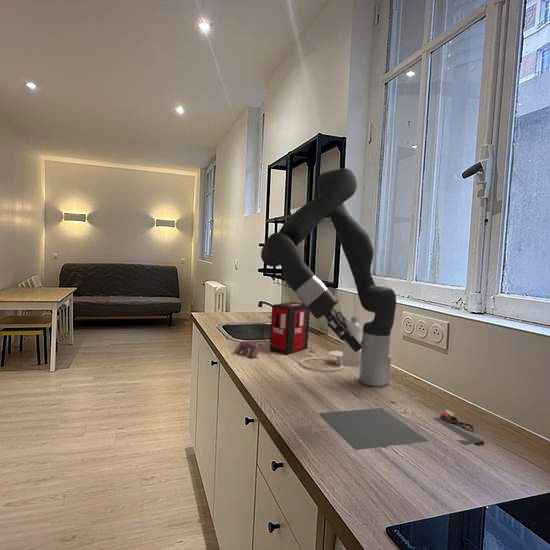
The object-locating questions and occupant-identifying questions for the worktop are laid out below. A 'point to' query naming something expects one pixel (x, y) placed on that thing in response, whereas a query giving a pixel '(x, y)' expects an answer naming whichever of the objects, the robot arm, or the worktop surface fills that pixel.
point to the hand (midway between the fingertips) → (359, 347)
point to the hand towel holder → (332, 353)
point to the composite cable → (452, 419)
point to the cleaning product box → (289, 328)
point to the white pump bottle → (349, 354)
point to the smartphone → (461, 433)
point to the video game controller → (244, 348)
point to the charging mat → (371, 428)
